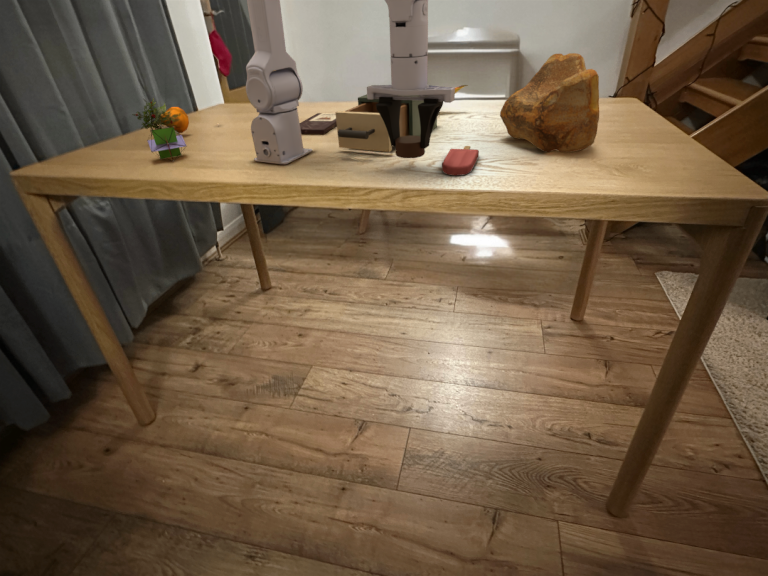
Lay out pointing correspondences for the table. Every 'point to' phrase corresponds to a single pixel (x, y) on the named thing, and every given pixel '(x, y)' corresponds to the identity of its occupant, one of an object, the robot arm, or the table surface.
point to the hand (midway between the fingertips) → (410, 145)
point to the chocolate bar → (318, 123)
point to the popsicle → (460, 161)
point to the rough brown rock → (556, 106)
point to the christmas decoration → (164, 117)
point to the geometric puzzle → (166, 142)
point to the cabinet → (413, 114)
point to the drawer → (368, 127)
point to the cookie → (409, 147)
